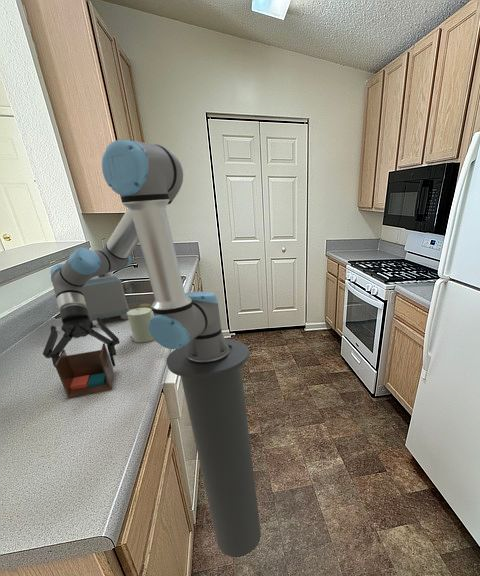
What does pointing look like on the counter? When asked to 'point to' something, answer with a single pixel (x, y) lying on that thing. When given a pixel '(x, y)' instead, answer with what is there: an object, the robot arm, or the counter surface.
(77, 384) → the packet coral
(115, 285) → the toaster
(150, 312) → the can
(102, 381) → the packet teal
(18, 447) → the counter surface
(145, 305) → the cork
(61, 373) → the brown wooden open box
